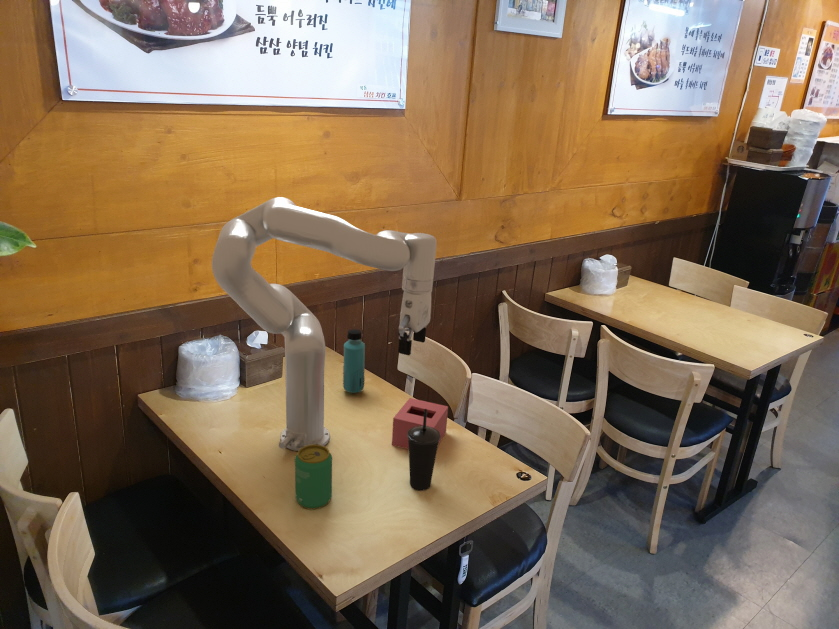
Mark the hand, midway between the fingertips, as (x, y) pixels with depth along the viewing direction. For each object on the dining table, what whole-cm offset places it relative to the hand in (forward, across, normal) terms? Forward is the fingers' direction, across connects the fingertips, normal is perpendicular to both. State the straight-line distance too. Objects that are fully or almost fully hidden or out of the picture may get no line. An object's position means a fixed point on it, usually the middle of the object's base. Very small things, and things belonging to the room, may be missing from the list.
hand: (411, 347), depth 159 cm
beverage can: (+26, -36, +7) cm, 44 cm away
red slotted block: (+25, -1, -5) cm, 25 cm away
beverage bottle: (+26, +14, +23) cm, 37 cm away
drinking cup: (+25, -20, -13) cm, 34 cm away
